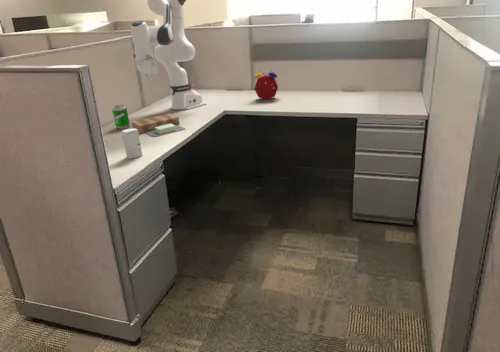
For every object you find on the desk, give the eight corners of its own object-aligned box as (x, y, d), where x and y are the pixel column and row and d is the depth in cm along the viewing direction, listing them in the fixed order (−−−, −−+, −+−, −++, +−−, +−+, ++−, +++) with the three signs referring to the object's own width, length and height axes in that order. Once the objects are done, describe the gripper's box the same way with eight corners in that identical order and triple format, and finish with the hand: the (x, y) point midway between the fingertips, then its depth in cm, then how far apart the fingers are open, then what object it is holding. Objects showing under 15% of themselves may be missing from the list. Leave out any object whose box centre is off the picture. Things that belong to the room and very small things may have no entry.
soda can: (121, 125, 236) (117, 104, 231) (132, 125, 233) (128, 104, 228) (113, 129, 229) (108, 107, 224) (124, 129, 226) (120, 108, 222)
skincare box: (129, 159, 181) (124, 132, 177) (126, 156, 185) (120, 130, 180) (143, 155, 184) (138, 129, 180) (139, 153, 188) (134, 127, 183)
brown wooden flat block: (170, 120, 237) (169, 113, 235) (179, 124, 228) (178, 117, 226) (133, 129, 226) (131, 121, 225) (141, 133, 217) (139, 126, 215)
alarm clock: (278, 97, 269) (277, 65, 261) (278, 100, 261) (276, 67, 253) (256, 98, 271) (253, 66, 263) (254, 101, 263) (252, 69, 255)
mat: (176, 125, 226) (176, 124, 226) (185, 129, 218) (185, 128, 218) (145, 132, 217) (145, 132, 217) (153, 137, 209) (153, 136, 209)
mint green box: (175, 125, 216) (176, 130, 217) (170, 123, 220) (171, 127, 221) (159, 129, 211) (160, 134, 212) (154, 127, 216) (155, 131, 217)
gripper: (158, 55, 209) (163, 82, 215) (142, 52, 225) (147, 77, 231) (146, 57, 206) (151, 85, 212) (131, 54, 222) (136, 80, 228)
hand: (149, 81), depth 222 cm, fingers closed
